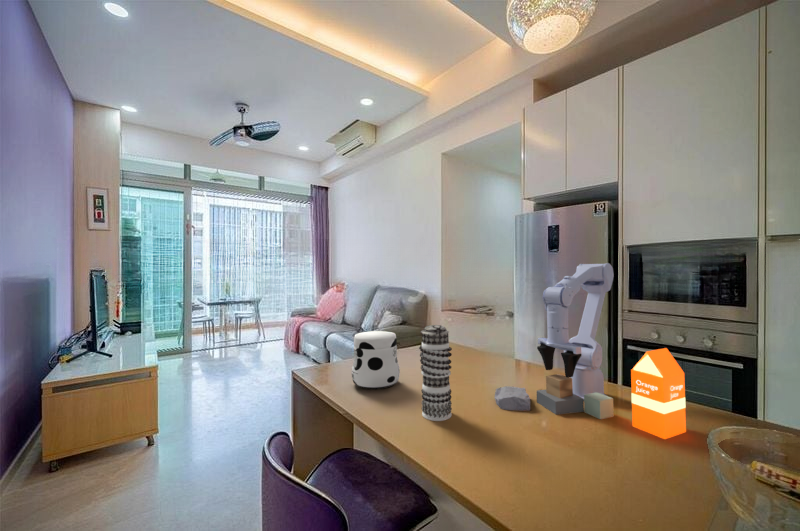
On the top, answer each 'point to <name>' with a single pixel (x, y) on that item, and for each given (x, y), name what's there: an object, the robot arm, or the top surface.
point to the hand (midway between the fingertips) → (558, 373)
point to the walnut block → (559, 386)
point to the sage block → (598, 405)
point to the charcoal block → (560, 403)
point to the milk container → (375, 360)
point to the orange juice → (658, 395)
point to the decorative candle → (435, 373)
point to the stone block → (512, 398)
